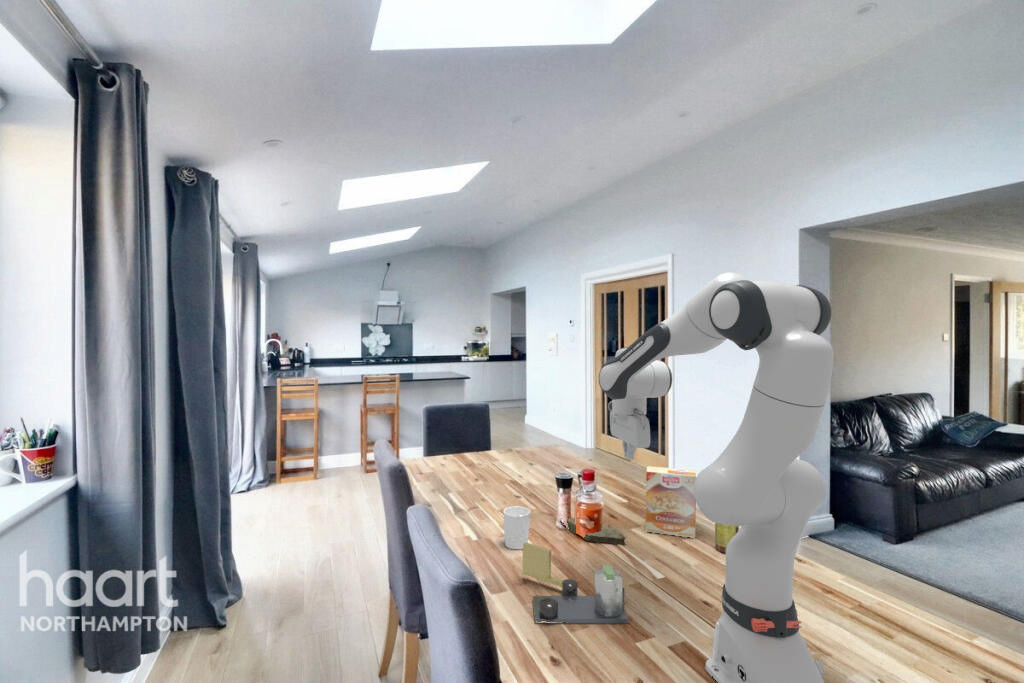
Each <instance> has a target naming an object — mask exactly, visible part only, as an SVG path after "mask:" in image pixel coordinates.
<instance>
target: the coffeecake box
mask: <svg viewBox="0 0 1024 683" xmlns="http://www.w3.org/2000/svg"><path fill="white" fill-rule="evenodd" d="M696 477H697V475H696V470H694V469H683V468H673V467H664V466H663V467H662V466H652V465H647V466H646V471H645V527H644V528H645V529H644V530H645V533H647V532H652V533H651V534H655V533H660V534H659V535H663V534H667V535H666V536H671V535H675V536H674V537H679V536H682V537H681V538H687V537H690V538H689V539H695V538H696V521H697V520H696V519H697V518H696V516H697V514H696V513H697V508H696V507H697V503H696V500H695V496H694V484H695V480H696Z"/></svg>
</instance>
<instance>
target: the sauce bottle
mask: <svg viewBox="0 0 1024 683" xmlns="http://www.w3.org/2000/svg"><path fill="white" fill-rule="evenodd" d="M714 526H715V527H714V534H715V536H714V538H715V539H714V540H715V541H714V543H715V548H716V550H717V551H718V552H721V553H723V554H726V547H727V545H728V543H729V541H730V540H731V539H732V537H733V536H735V535H736V534H737V532H738V531H739V530H740V528H739V527H740V526H736V525H726V524H718V523H714Z"/></svg>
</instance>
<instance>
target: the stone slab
mask: <svg viewBox="0 0 1024 683" xmlns="http://www.w3.org/2000/svg"><path fill="white" fill-rule="evenodd" d="M567 523H568V527H569V530H568V531H569V532H571V533H573V534H575V535H576V524H575V519H574V518H570V519H568V520H567ZM601 523H602V528H601V531H599V532H595V533H586V535H585V537H584V538H583V539H584V540H585V541H586V542H593V543H597V544H600V543H605V544H614V545H618V544H619V545H620V544H621V545H625V540H627V539H628V537H627V536H626V535H624V533H622V531H621V530H618V529H617V528H615V527H613V526H611V525H609V524H608V525H606V524H605V523H604V522H601ZM619 545H618V546H619Z"/></svg>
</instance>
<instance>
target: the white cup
mask: <svg viewBox="0 0 1024 683" xmlns="http://www.w3.org/2000/svg"><path fill="white" fill-rule="evenodd" d="M530 519H531V510H530V509H529V508H527V507H525V506H518V505H517V506H508V507H506V508H504V509H503V530H504V531H503V533H504V545H505V547H506V548H508V549H511V550H515V549H516V550H523V544H524V543H525V542H526V543H529V536H530V524H531V522H530V521H531V520H530Z"/></svg>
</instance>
